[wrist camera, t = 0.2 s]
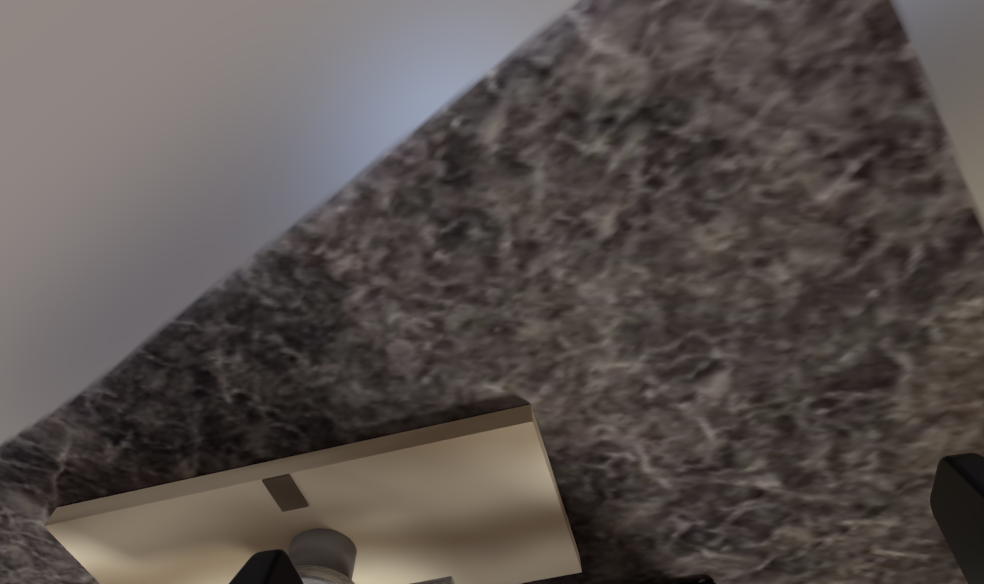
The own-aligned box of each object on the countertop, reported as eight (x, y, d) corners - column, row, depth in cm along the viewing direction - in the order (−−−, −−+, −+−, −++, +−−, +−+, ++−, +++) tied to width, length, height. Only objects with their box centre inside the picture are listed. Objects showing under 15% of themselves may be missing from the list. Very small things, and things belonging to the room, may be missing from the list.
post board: (579, 553, 32) (587, 612, 29) (171, 629, 35) (146, 688, 32) (531, 404, 27) (536, 459, 24) (56, 507, 30) (16, 566, 27)
